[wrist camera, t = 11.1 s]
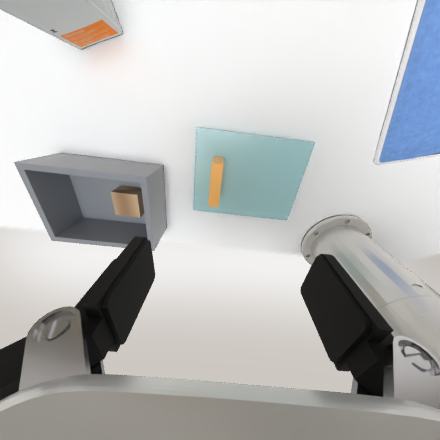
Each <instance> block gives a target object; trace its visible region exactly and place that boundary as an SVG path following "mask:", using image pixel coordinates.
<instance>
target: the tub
mask: <svg viewBox="0 0 440 440" xmlns="http://www.w3.org/2000/svg"><path fill="white" fill-rule="evenodd" d="M14 163H15V165H16V167H17V169H18V171H19V173H20V176H21V178H22V180H23V182H24V184H25V186H26V188H27V190H28V192H29V194H30V196H31V198H32V201H33V203H34V205H35V207H36V209H37V211H38V213H39V215H40V217H41V219H42V221H43V223H44V226H45V228H46V230H47V232H48V234H49V236H50V238H51V240H52V241H63V242H73V243H82V244H92V245H102V246H112V247H122V248H126V247H127V245H128V244H129V243H130V242H131V240H132V239H133V238H134V237H135V236H140V237H147V239H148V240H150V242H151V248H152V251H154V250H155V248H156V246H157V244H158V243H159V241H160V239H161V237H162V235H163V233H164V231H165V230H166V228H167V222H166V203H165V185H164V166H163V165H159V164H151V163H142V162H134V161H126V160H117V159H109V158H100V157H92V156H84V155H75V154H67V153H58V154H53V155H48V156H43V157H38V158H33V159H28V160H23V161H17V162H14ZM121 185H122V186H130V187H139V188H141V189H142V197H143V205H144V214H143V215H142V216H141V217H131V216H122V215H116V214H115V209H114V205H113V200H112V196H111V191H113V190H114V189H116V188H118V187H119V186H121Z"/></svg>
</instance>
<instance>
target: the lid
mask: <svg viewBox="0 0 440 440" xmlns="http://www.w3.org/2000/svg"><path fill="white" fill-rule="evenodd" d="M314 144H315V142H309V141H302V140H294V139H286V138H278V137H270V136H263V135H255V134H247V133H239V132H231V131H224V130H216V129H208V128H200V127H197V130H196V156H195V183H194V209H193V210H198V211H207V212H217V213H226V214H235V215H244V216H253V217H262V218H271V219H280V220H287V219H288V216H289V213H290V211H291V208H292V205H293V202H294V200H295V197H296V194H297V191H298V188H299V186H300V183H301V180H302V177H303V175H304V172H305V169H306V166H307V164H308V161H309V158H310V155H311V152H312V150H313V147H314Z"/></svg>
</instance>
